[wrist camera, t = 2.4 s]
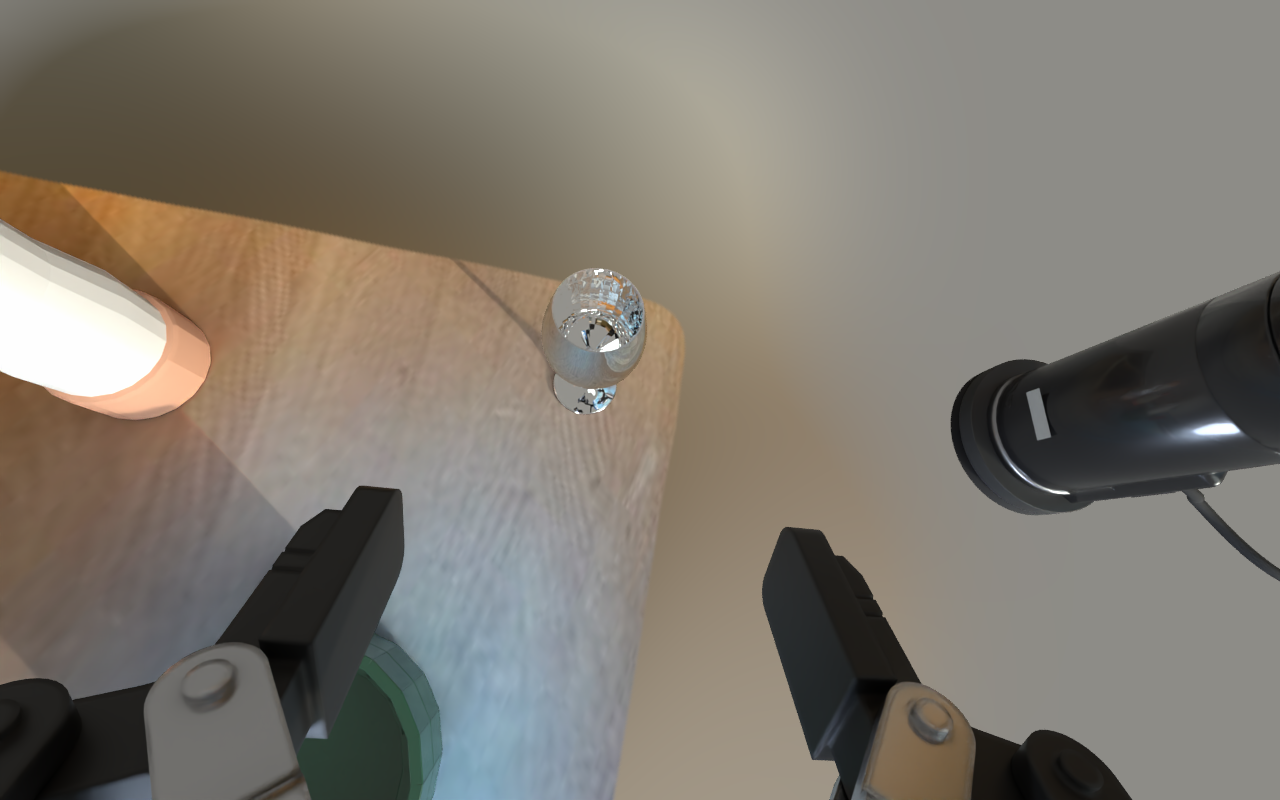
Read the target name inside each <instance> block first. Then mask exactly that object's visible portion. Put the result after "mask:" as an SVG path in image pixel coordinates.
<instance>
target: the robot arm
mask: <svg viewBox="0 0 1280 800" xmlns="http://www.w3.org/2000/svg"><path fill="white" fill-rule="evenodd" d="M987 425H988V432H989V436H990V439H991V442H992V445H993V447H994V450H995V452H996V453H997V455H998V457H999V459H1000V460H1001V462H1002V463H1003V464H1004V466H1005V467H1006V468H1007V469H1008V470H1009V472H1010V473H1011V474H1012V475H1013V476H1014V477H1016V478H1017V479H1018V480H1019V481H1021V482H1022V483H1023V484H1025V485H1027V486H1028V487H1030V488H1032V489H1034V490H1036V491H1039V492H1042V493H1045V494H1051V495H1061V496H1063V497H1064V498H1066V499H1067V500H1068V501H1069V502H1070V503H1082V502H1090V501H1099V500H1108V499H1116V498H1125V497H1141V496H1149V495H1158V494H1167V493H1175V492H1177V491H1182V492H1183V493H1185V494H1186V495H1187V499H1188V500H1189V502H1190V503H1191V504H1192V505H1193V506H1194V507H1195V508H1196V509H1197V510H1198V511H1199V512H1200V513H1201V514H1202V515H1203V516H1204V518H1205V519H1206V520H1207V521H1208V522H1209V523H1210V524H1211V525H1212V526H1213V527H1214V528H1215V529H1216V530H1217V531H1218V532H1219V533H1220V534H1221V535H1222V536H1223V537H1224V538H1225V539H1226V540H1227V541H1228V542H1229V543H1230V544H1231V545H1232V546H1233V547H1234V548H1236V549H1237V550H1238V551H1239V552H1240V553H1241V554H1242V555H1244V556H1245V557H1246V558H1247V559H1248V560H1249V561H1251V562H1252V563H1253V564H1255V565H1256V566H1257V567H1259V568H1260V569H1262V570H1263V571H1264V572H1266V573H1267V574H1269V575H1270V576H1272V577H1274V578H1275V579H1277V580H1279V581H1280V569H1279V568H1277V567H1276V566H1274V565H1273V564H1271V563H1270V562H1269V561H1267V560H1266V559H1265V558H1264V557H1262V556H1261V555H1260V554H1259V553H1257V552H1256V551H1255V550H1254V549H1253V548H1251V547H1250V546H1249V545H1248V544H1247V543H1246V542H1245V541H1244V540H1243V539H1242V538H1240V537H1239V536H1238V535H1237V534H1236V533H1235V532H1234V531H1233V530H1232V529H1231V528H1230V527H1229V526H1228V525H1227V524H1226V523H1225V522H1224V521H1223V520H1222V518H1220V517H1219V515H1217V514H1216V512H1215V511H1214V510H1213V509H1212V508H1211V507H1210V506H1209V505H1208V503H1207V502H1206V501H1205V500H1204V495H1203V494H1202V493H1201V492H1200V491H1199V490H1198V489H1203V488H1210V487H1215V486H1217V485H1219V484H1221V483H1222V481H1223V480H1224V478H1225V476H1226V474H1227V472H1228V471H1230V470H1238V469H1246V468H1253V467H1260V466H1266V465H1274V464H1280V272H1277V273H1275V274H1272V275H1270V276H1267V277H1265V278H1262V279H1260V280H1257V281H1255V282H1252V283H1250V284H1247V285H1245V286H1242V287H1240V288H1237V289H1235V290H1232V291H1230V292H1227V293H1225V294H1223V295H1220V296H1218V297H1215V298H1213V299H1210V300H1208V301H1205V302H1203V303H1200V304H1198V305H1195V306H1193V307H1191V308H1188V309H1185V310H1183V311H1180V312H1178V313H1175V314H1173V315H1170V316H1168V317H1165V318H1163V319H1160V320H1158V321H1155V322H1153V323H1150V324H1148V325H1145V326H1143V327H1141V328H1138V329H1136V330H1133V331H1130V332H1128V333H1125V334H1123V335H1121V336H1118V337H1115V338H1113V339H1110V340H1108V341H1105V342H1103V343H1100V344H1098V345H1096V346H1093V347H1090V348H1088V349H1085V350H1083V351H1080V352H1078V353H1075V354H1073V355H1071V356H1068V357H1065V358H1063V359H1060V360H1058V361H1055V362H1053V363H1050V364H1048V365H1045V366H1043V367H1040V368H1038V369H1037V368H1036V369H1034V370H1031V371H1029V372H1025V373H1022V374H1019V375H1017V376H1014V377H1012V378H1010V379H1008V380H1006V381H1005V382H1003V383H1002V384H1001V385H1000V386H999V387H998V388H997V389H996V391H995V392H994V394H993V396H992V398H991V400H990V403H989V407H988V413H987ZM403 557H404V526H403V503H402V493H401V491H400V490H399V489H392V488H382V487H371V486H359V487H357V488H356V490H355V491H354V492H353V494H352V496H351V497H350V499H349V500H348V502H347V503H346V505H345V506H344V508H343V509H342V510H331V509H325V510H323V511H322V512H320V513H319V514H318V515H316V516H315V517H313V518H312V519H310V520H309V521H308V522H306V523H305V524H303V525H302V526H301V527H300V528H299V529H298V531H297V532H296V534H295V535H294V536H293V538H292V539H291V541H290V542H289V543H288V545H287V546H286V547H285V552H282V553H281V554H280V556H279V557H278V559H277V560H276V561H275V563H274V564H273V567H272V570H269V571H268V572H267V574H266V575H265V576H264V578H263V579H262V581H261V582H260V583H259V585H258V586H257V588H256V589H255V590H254V592H253V593H252V594H251V596H250V597H249V599H248V600H247V601H246V603H245V604H244V606H243V607H242V608H241V610H240V611H239V612H238V614H237V615H236V617H235V618H234V619H233V621H232V622H231V624H230V625H229V626H228V628H227V629H226V630H225V632H224V633H223V635H222V636H221V637H220V639H219V640H218V641H217V642H216V644H215V645H213V646H210V647H206V648H203V649H201V650H199V651H196V652H194V653H192V654H190V655H188V656H186V657H185V658H183V659H181V660H180V661H178V662H177V663H175V664H174V665H172V666H171V667H170V668H169V669H168V670H167V671H165V672H164V673H163V674H162V675H161V676H160V677H159V678H158V680H157V681H155V682H152V683H149V684H145V685H141V686H137V687H132V688H128V689H123V690H118V691H113V692H108V693H104V694H99V695H94V696H89V697H84V698H80V699H75V700H72V699H71V697H70V695H69V693H68V691H67V689H66V688H65V687H64V686H63V685H62V684H60V683H58V682H57V681H53V680H50V679H41V678H35V679H24V680H18V681H13V682H9V683H6V684H2V685H0V800H311V797H310V794H309V790H308V787H307V784H306V781H305V778H304V775H303V773H301V770H300V767H299V764H298V761H297V757H296V756H297V754H298V752H299V750H300V748H301V746H302V743H303V741H304V739H305V738H321V739H328V737H329V735H330V732H331V730H332V728H333V726H334V723H335V721H336V719H337V716H338V714H339V712H340V710H341V707H342V705H343V703H344V700H345V698H346V696H347V694H348V691H349V689H350V687H351V685H352V682H353V680H354V678H355V675H356V673H357V671H358V669H359V666H360V664H361V662H362V659H363V657H364V655H365V653H366V650H367V648H368V646H369V643H370V641H371V639H372V637H373V634H374V632H375V630H376V627H377V625H378V623H379V621H380V618H381V616H382V614H383V611H384V609H385V607H386V605H387V602H388V600H389V598H390V595H391V593H392V591H393V589H394V586H395V584H396V582H397V579H398V577H399V574H400V571H401V567H402V563H403ZM762 598H763V605H764V609H765V612H766V615H767V618H768V621H769V624H770V628H771V631H772V634H773V637H774V640H775V644H776V647H777V650H778V653H779V656H780V659H781V663H782V666H783V669H784V672H785V675H786V678H787V681H788V685H789V688H790V691H791V694H792V697H793V700H794V704H795V707H796V710H797V713H798V716H799V719H800V723H801V726H802V729H803V732H804V735H805V739H806V742H807V745H808V748H809V751H810V754H811V758H812V760H830V761H831V760H832V761H835V763H836V766H837V769H838V772H839V777H838V778H837V780H836V782H835V784H834V787H833V790H832V794H831V797H830V799H829V800H1132V799H1131V797H1130V796H1129V795H1128V793H1127V792H1126V791H1125V789H1124V788H1123V786H1122V785H1121V783H1120V782H1119V781H1118V779H1117V778H1116V777H1115V775H1114V774H1113V773H1112V771H1111V770H1110V769H1109V768H1108V767H1107V766H1106V765H1105V764H1104V763H1103V762H1102V761H1101V760H1100V759H1099V758H1098V757H1097V756H1096V755H1095V754H1093V753H1092V752H1091V751H1090V750H1089V749H1087V748H1086V747H1084V746H1083V745H1082V744H1080V743H1079V742H1077V741H1075V740H1073V739H1072V738H1070V737H1068V736H1066V735H1063V734H1061V733H1057V732H1054V731H1050V730H1038V731H1035V732H1033V733H1032V734H1031V735H1030V736H1029V737H1028V738H1027V739H1026V741H1025V742H1024V743H1023V744H1022V745H1019V744H1016V743H1014V742H1011V741H1008V740H1005V739H1003V738H1000V737H997V736H994V735H992V734H989V733H986V732H983V731H981V730H978V729H975V728H973V727H971V726H970V725H969V723H968V721H967V720H966V718H965V717H964V715H963V714H962V713H961V712H960V710H959V709H958V708H957V707H956V706H955V705H954V704H953V703H951V701H950V700H948V699H947V698H946V697H945V696H943V695H942V694H940V693H939V692H937V691H936V690H934V689H932V688H930V687H928V686H925V685H922V684H921V682H920V680H919V679H918V677H917V675H916V673H915V671H914V670H913V668H912V666H911V664H910V662H909V660H908V659H907V657H906V655H905V653H904V651H903V649H902V647H901V646H900V644H899V642H898V640H897V638H896V636H895V635H894V633H893V631H892V629H891V627H890V626H889V624H888V622H887V620H886V618H885V617H883V616H882V611H881V609H880V607H879V605H878V604H877V602H876V600H873V594H872V593H871V591H870V589H869V587H868V585H867V583H866V582H865V580H864V578H863V576H862V575H861V574H860V573H859V572H858V571H857V570H856V569H855V568H854V567H853V566H852V565H851V564H850V563H849V562H848V561H847V560H846V559H845V558H844V557H843V556H835V555H834V553H833V551H832V549H831V547H830V545H829V543H828V541H827V539H826V537H825V536H824V534H823V533H822V532H821V531H820V530H814V529H803V528H792V527H785V528H784V529H783V530H782V531H781V533H780V536H779V538H778V541H777V544H776V546H775V549H774V552H773V554H772V557H771V560H770V563H769V565H768V568H767V571H766V574H765V577H764V580H763V588H762Z"/></svg>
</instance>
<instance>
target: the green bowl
mask: <svg viewBox="0 0 1280 800" xmlns="http://www.w3.org/2000/svg"><path fill="white" fill-rule="evenodd" d="M441 756H442V737H441V725H440V713H439V707H438V705H437V702H436V700H435V698H434V695H433V693H432V691H431V688H430V686H429V684H428V681H427V679H426V676H425V674H424V673H423V671H422V670H421V669H420V668H419V667H418V666H417V665H416V664H415V663H414V662H413V661H412V660H411V658H410V657H409V656H408V655H407V654H406V653H405V652H404V651H403V650H402V649H401V648H400V647H399V646H398V645H397V644H395V643H393V642H391V641H389V640H386V639H384V638H382V637H380V636H378V635H376V634H373V637H372V639H371V641H370V643H369V646H368V648H367V650H366V653H365V655H364V657H363V659H362V662H361V664H360V666H359V669H358V671H357V673H356V675H355V678H354V680H353V682H352V685H351V687H350V689H349V691H348V694H347V696H346V698H345V700H344V703H343V705H342V707H341V710H340V712H339V714H338V716H337V719H336V721H335V723H334V726H333V728H332V730H331V732H330V735H329V737H328V739H321V738H305V739H304V741H303V743H302V746H301V748H300V750H299V752H298V754H297V756H296V757H297V761H298V764H299V767H300V770H301V773H303V775H304V778H305V781H306V784H307V787H308V790H309V794H310V797H311V800H432V798H433V795H434V790H435V785H436V781H437V776H438V771H439V766H440V761H441Z"/></svg>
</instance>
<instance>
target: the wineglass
mask: <svg viewBox="0 0 1280 800" xmlns="http://www.w3.org/2000/svg"><path fill="white" fill-rule="evenodd" d="M646 338H647V320H646V312H645V308H644V303H643V300H642V298H641V296H640V293H639V291H638V290H637V288H636V287H635V286H634V285H633V284H632V283H631V282H630V281H629V280H628V279H627V278H625V277H624V276H622V275H620V274H619V273H617V272H614V271H611V270H608V269H602V268H589V269H585V270H580V271H578V272H576V273H574V274H572V275H570V276H569V277H568V278H566V279H565V280H564V281H563V282H562V283H561V284H560V286H559V287H558V288H557V290H556V291H555V293H554V294H553V296H552V298H551V299H550V302H549V304H548V306H547V308H546V311H545V314H544V317H543V322H542V330H541V339H542V347H543V351H544V353H545V356H546V358H547V360H548V363H549V364H550V366H551V368H552V369H553V370H554V371H555V372H556V373H555V376H554V381H553V387H554V392H555V395H556V397H557V399H558V400H559V402H560V403H561V404H562V405H563V406H564V407H565V408H566V409H568V410H570V411H572V412H574V413H577V414H583V415H589V414H595V413H597V412H600V411H602V410H603V409H605V408H606V407H607V406H608V405H609V404H610V403H611V402H612V400H613V399H614V397H615V394H616V390H617V383H619V382H621V381H622V380H624V379H625V378H626V377H627V376H628V375H629V374H630V373H631V372H632V371H633V370H634V369H635V368H636V366H637V365H638V363H639V361H640V359H641V357H642V354H643V352H644V349H645V345H646Z"/></svg>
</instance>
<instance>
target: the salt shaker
mask: <svg viewBox="0 0 1280 800" xmlns="http://www.w3.org/2000/svg"><path fill="white" fill-rule="evenodd" d="M210 363H211V358H210V346H209V343H208V341H207V339H206V337H205V335H204V333H203V331H201V330H200V329H199V328H198V327H197V326H196V325H195V324H194V323H193V322H192V321H190V320H189V319H188V318H186V317H185V316H183V315H182V314H180V313H179V312H177V311H176V310H174V309H173V308H171V307H170V306H168V305H167V304H165V303H164V302H162V301H161V300H159V299H158V298H156V297H154V296H151V295H149V294H147V293H145V292H142V291H140V290H135V289H131V288H129V287H128V286H126V285H125V284H124V283H122V282H121V281H119V280H118V279H117V278H115V277H114V276H112V275H111V274H109V273H108V272H107V271H105V270H103V269H101V268H99V267H96V266H94V265H92V264H89V263H87V262H85V261H83V260H80V259H78V258H76V257H74V256H71V255H69V254H67V253H65V252H62V251H60V250H58V249H55V248H53V247H51V246H49V245H46V244H44V243H42V242H40V241H37V240H35V239H33V238H31V237H29V236H28V235H26V234H24V233H23V232H21V231H19V230H18V229H16V228H15V227H13V226H11V225H10V224H8V223H6V222H5V221H3V220H2V219H0V371H1V372H3V373H6V374H8V375H11V376H13V377H16V378H19V379H22V380H25V381H29V382H32V383H35V384H38V385H41V386H43V387H44V388H46V389H47V390H48V391H49V392H50V393H51V394H52V395H53V396H56V397H58V398H61V399H63V400H65V401H68V402H70V403H72V404H75V405H78V406H81V407H84V408H87V409H90V410H93V411H96V412H99V413H102V414H105V415H108V416H111V417H114V418H120V419H130V420H140V419H146V418H152V417H158V416H160V415H162V414H165V413H167V412H169V411H171V410H174V409H176V408H178V407H179V406H181V405H182V404H183V403H184V402H186V401H187V400H188V399H189V398H191V397H192V396H193V395H194V394H195V393H196V391H197V390H198V389H199V387H200V386H201V385H202V383H203V382H204V380H205V379H206V376H207V373H208V369H209V366H210Z"/></svg>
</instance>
